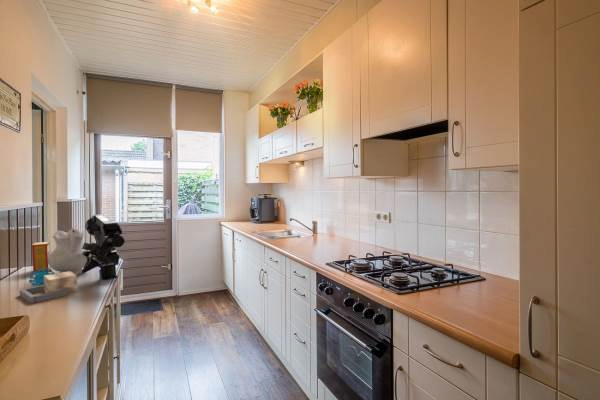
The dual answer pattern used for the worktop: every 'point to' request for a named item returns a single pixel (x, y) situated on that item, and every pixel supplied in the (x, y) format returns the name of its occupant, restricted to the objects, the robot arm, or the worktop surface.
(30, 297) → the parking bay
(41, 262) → the baking soda box
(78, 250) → the ceramic pitcher
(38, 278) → the gear
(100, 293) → the worktop surface
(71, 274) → the oak block
